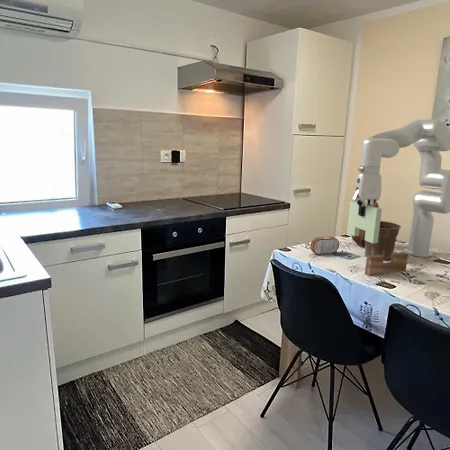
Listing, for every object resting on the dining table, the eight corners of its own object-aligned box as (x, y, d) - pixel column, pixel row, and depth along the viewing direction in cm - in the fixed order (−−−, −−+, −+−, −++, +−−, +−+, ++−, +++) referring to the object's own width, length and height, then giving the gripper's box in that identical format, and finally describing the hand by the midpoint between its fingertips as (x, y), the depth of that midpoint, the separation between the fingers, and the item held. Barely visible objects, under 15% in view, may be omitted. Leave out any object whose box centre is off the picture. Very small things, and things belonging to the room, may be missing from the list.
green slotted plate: (346, 233, 162) (350, 201, 158) (351, 232, 163) (354, 201, 159) (372, 243, 147) (377, 208, 144) (377, 242, 148) (381, 208, 145)
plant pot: (371, 262, 170) (375, 228, 166) (353, 251, 186) (357, 220, 182) (403, 261, 173) (408, 228, 169) (383, 251, 188) (387, 220, 184)
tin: (335, 251, 185) (337, 235, 183) (339, 253, 182) (341, 237, 180) (309, 253, 180) (310, 237, 179) (312, 255, 178) (314, 238, 176)
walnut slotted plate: (364, 273, 156) (367, 255, 154) (401, 269, 163) (403, 251, 161) (368, 275, 153) (371, 257, 151) (405, 271, 160) (408, 253, 158)
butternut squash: (361, 240, 206) (367, 196, 201) (382, 247, 195) (388, 200, 189) (344, 243, 199) (349, 197, 194) (364, 250, 188) (370, 202, 182)
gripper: (359, 171, 142) (354, 218, 147) (392, 171, 148) (386, 216, 152) (346, 169, 149) (342, 214, 153) (378, 169, 154) (373, 212, 159)
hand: (364, 215), depth 153 cm, fingers closed on green slotted plate, 2 cm apart
